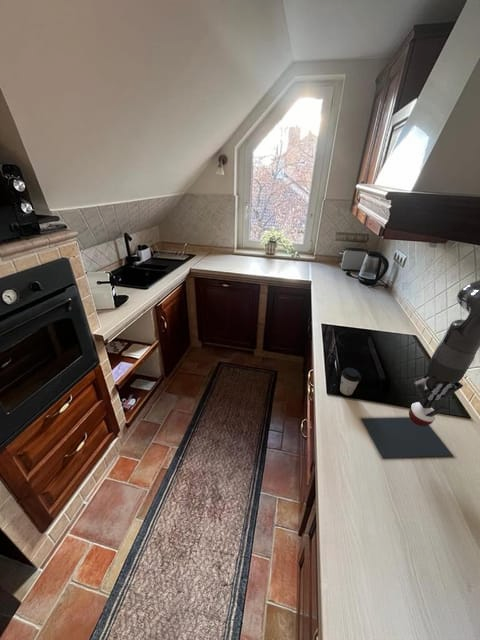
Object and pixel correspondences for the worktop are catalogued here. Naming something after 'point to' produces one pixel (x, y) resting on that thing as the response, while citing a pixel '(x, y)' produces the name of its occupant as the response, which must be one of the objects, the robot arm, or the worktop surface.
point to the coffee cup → (349, 381)
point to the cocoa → (423, 414)
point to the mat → (404, 438)
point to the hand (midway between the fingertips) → (425, 405)
